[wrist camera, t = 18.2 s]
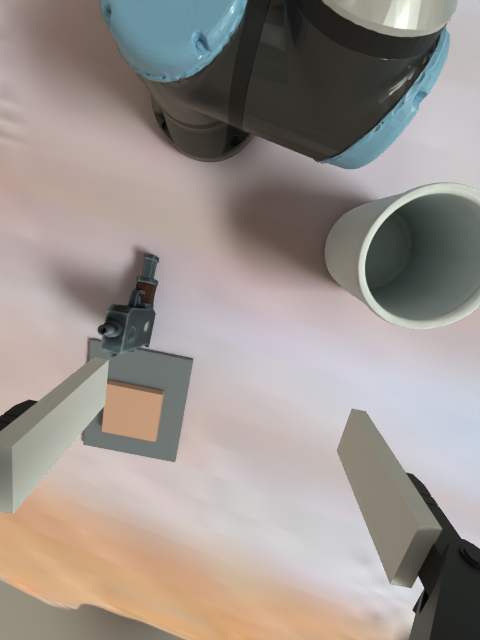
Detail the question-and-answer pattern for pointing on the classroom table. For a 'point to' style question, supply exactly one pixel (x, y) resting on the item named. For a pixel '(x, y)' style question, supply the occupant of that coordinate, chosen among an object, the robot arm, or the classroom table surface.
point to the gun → (132, 315)
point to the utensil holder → (411, 255)
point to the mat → (150, 373)
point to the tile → (132, 410)
